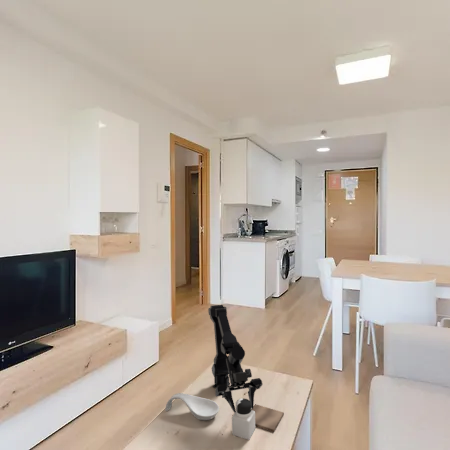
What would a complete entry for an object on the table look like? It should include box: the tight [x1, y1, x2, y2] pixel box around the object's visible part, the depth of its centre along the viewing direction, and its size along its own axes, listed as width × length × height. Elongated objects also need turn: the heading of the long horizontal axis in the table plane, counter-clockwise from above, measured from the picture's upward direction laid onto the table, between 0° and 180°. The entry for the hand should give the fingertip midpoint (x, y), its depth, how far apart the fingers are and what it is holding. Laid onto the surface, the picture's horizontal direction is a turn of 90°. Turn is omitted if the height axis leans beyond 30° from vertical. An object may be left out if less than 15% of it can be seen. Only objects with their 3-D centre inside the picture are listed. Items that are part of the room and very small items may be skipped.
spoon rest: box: [164, 392, 220, 421], centre depth 136 cm, size 24×12×7 cm, turn 73°
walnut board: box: [251, 403, 285, 433], centre depth 131 cm, size 13×12×1 cm
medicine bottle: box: [231, 398, 256, 441], centre depth 123 cm, size 7×7×12 cm
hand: (243, 410), depth 123 cm, fingers open, 7 cm apart
